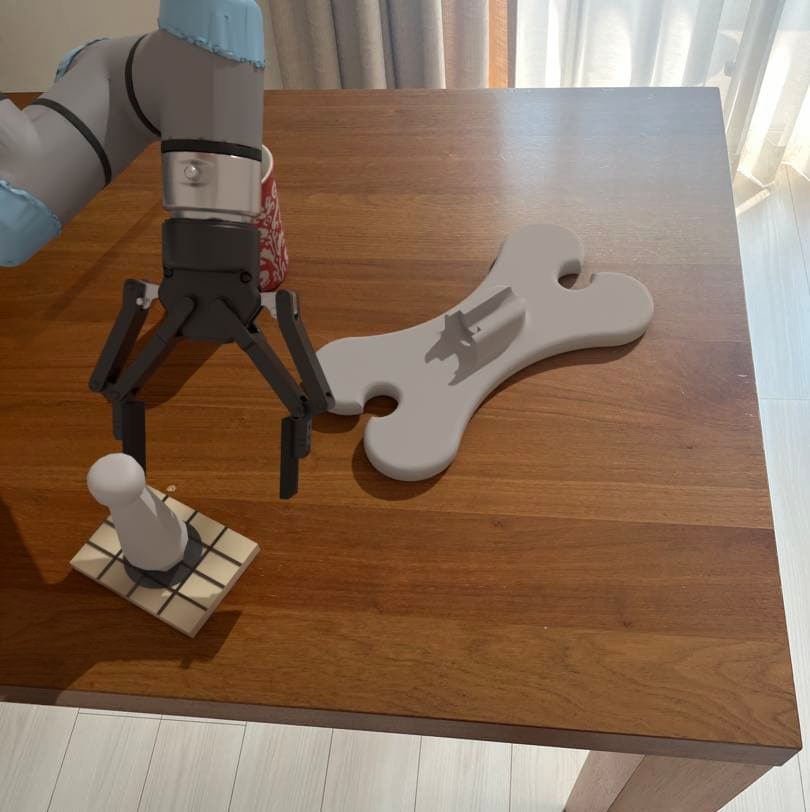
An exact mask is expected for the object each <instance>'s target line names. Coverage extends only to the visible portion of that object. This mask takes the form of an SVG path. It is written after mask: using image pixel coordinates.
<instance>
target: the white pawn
mask: <svg viewBox="0 0 810 812" xmlns="http://www.w3.org/2000/svg"><path fill="white" fill-rule="evenodd" d="M86 484H87V489H88V491H89V493H90V494H91V495H92V497H93V498H94V499H95V500H96V501H97V503H98V504H101V505H103V506H106V507H108V509H109V513H110V515H111V516H112V519H113V523H114V526H115V529H116V532H117V536H118V539H119V542H120V545H121V549H122V552H123V554H124V555H125V557H126V558H127V559H128V561H129V562H130V563H131V564H132V565H133V566H136V567H139V568H142V569H144V570H158V571H165V572H166V571H168V570H169V569H170V568H172V567H173V566H175V565H176V564H177V563H179V562H180V561H181V560H183V556H184V550H185V547H186V544H187V542H188V534H187V528H186V524H185V523H184V522H183V521H182V520H181V518H180V517H179V516H178V515H177V514H176V513H175V512H174V511H173V510H171V509H170V508H169V507H168V506H167V505H166V504H165V503H164V502H163V501H161V500H160V499H159V498H158V497H157V496H156V495H155V494H154V493H153V492H152V491H151V490H150V489H149V488H148V487H147V486H146V485H147V484H146V477H145V474H144V471H143V469H142V467H141V466H140V465H139V464H138V463H137V462H136V460H135V459H134V458H132V457H131V456H129V455H126V454H123V452H117V453H109V454H107V455H104V456H102V457H101V458H99V459H97V460H96V461H95V462H94V464H92V465H91V466H90V468H89V470H88V472H87V475H86ZM145 484H146V485H145Z"/></svg>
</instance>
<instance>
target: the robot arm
mask: <svg viewBox="0 0 810 812" xmlns="http://www.w3.org/2000/svg"><path fill="white" fill-rule="evenodd" d="M156 21H157V26H158V29H155V30H152V31H150V32H147V33H139V34H133V35H126V36H121V37H112V38H110V37H102V39H98V38H95V39H93V40H90V41H88V42H86V43H85V44H83V45H79V46H77V47H75V48H73V49H71V50H69V51H68V52H67V53H66V54H64V56H63V57H62V58H61V60H60V62H59V64H58V67H57V68H56V72H55V73H56V74H55V76H54V80H53V84H52V85H51V86H49V88H48V89H46V90H45V91H44V92H43V93H42V94H40V95H39V96H38V97H37V98H36V99H34V100H32V102H30V103H29V104H28V105H27V106H26V107H24V108H23V109H20V108H19V107H18V106H17V105H15V104H14V102H13V101H12V100H11V99H10V98H8V97H7V96H6V95H5V94H4V93H3V92H2V91H0V267H6V268H12V267H13V268H14V267H17V266H20V265H23V264H26V262H28V261H29V260H30V259H31V258H32V257H33V256H34V255H36V254H37V253H38V252H39V251H40V250H41V249H42V248H44V247H46V245H48V243H49V242H51V241H52V240H54V239H55V240H56V239H58V237H60V235H61V234H62V233H63V230H64V228H66V227H67V225H68V224H69V223H70V222H71V221H73V219H74V218H76V216H77V215H78V214H80V213H81V211H82V210H84V209H85V207H86V206H87V205H88V204H89V203H90V202H92V200H93V199H94V198H96V196H97V195H98V194H99V193H100V192H102V191H103V190H104V189H105V188H106V187H108V186H109V185H110V184H111V183H112V182H114V180H115V179H117V177H119V176H120V174H122V173H123V172H124V171H125V170H126V169H127V168H128V167H129V166H130V165H131V164H132V163H133V162H135V160H136V159H137V158H138V157H139V156H140V155H141V154H143V152H144V151H145V150H146V149H147V148H148V147H150V146H151V145H153V144H154V143H156V142H160V154H161V208H162V209H163V210H164V211H165V212H169V218H165V219H164V222H161V265H162V271H163V276H162V280H161V282H160V284H159V283H153V282H150V281H149V279H146V278H127V279H125V281H124V282H123V289H122V302H121V308H120V310H119V312H118V314H117V316H116V319H115V321H114V323H113V325H112V328H111V330H110V333H109V335H108V337H107V339H106V341H105V344H104V346H103V348H102V351H101V353H100V355H99V357H98V359H97V362H96V364H95V366H94V368H93V371H92V373H91V375H90V377H89V380H88V383H87V386H88V389H89V390H90V391H91V392H92V393H99V394H100V395H103V396H105V397H107V398H108V399H109V400H110V403H111V421H112V435H113V438H114V440H115V441H121V444H122V445H121V449H122V452H121V453H123V454H126V455H129V456H131V457H132V458H134V459H135V460H136V462H137V463H138V464H139V465H140V466H141V467H142V469H143V471H144V474H145V478H146V477H147V442H146V441H147V439H146V438H147V437H146V435H147V434H146V400H139V399H138V400H134V399H136V398H138V397H139V395H138V394H139V393H140V392H141V390H142V389H143V388H144V387H145V386H146V384H148V382H149V381H150V380H151V378H152V377H153V376H154V375H155V373H156V372H157V371H158V370H159V369H160V368H161V366H162V365H163V364H164V363H165V362H166V360H167V359H168V358H169V356H170V355H171V354H172V353H173V352H174V351H175V349H176V348H177V347H178V346H179V345H180V344H181V343H182V342H184V341H185V340H186V339H187V341H188V342H193V343H194V342H195V343H200V342H206V341H208V342H211V343H214V344H219V345H230V344H234V343H236V345H237V346H238V348H239V349H240V350H242V351H243V352H245V354H246V355H247V357H248V358H249V359H250V360H251V362H252V363H253V364H254V366H255V367H256V369H257V370H258V371H259V373H260V374H261V376H262V377H263V378H264V379H265V381H266V382H267V383H268V385H269V386H270V388H271V390H273V392H274V393H275V395H276V396H277V397H278V399H279V400H280V402H281V403H282V404H283V406H284V407H285V409H286V410H287V411H288V413H289V414H290V415H287V416H286V417H284V418H281V420H280V421H281V423H280V424H281V425H280V427H281V428H280V457H279V458H280V461H279V462H280V463H279V465H280V466H279V496H278V497H279V500H287V501H288V500H290V499H292V498H293V497H294V496H295V495H297V494H299V471H300V459H305V458H307V457H308V456H309V455H310V453H311V450H312V427H313V425H312V424H313V418H314V417H315V416H316V415H320V414H324V413H326V412H329V411H328V410H330V409H332V408H334V406H335V403H336V402H335V398H334V396H333V394H332V391H331V389H330V386H329V384H328V382H327V379H326V377H325V375H324V372H323V370H322V367H321V365H320V363H319V360H318V358H317V356H316V351H315V348H314V346H313V343H312V342H311V340H310V336H309V334H308V331H307V329H306V328H305V325H304V322H303V320H302V316H301V315H302V314H301V301H300V293H298V291H297V290H295V289H283V288H282V289H279V290H278V291H265V292H263V291H262V288H261V285H260V256H261V231H259V230H258V226H254V225H253V224H254V219H257V218H258V217H260V216H261V202H262V163H261V162H262V144H263V133H264V132H263V131H264V129H263V127H264V95H265V94H264V93H265V91H264V90H265V69H266V68H267V61H266V55H265V35H264V34H265V33H264V18H263V13H262V10H261V7H260V6H259V4H258V3H257V2H256V1H255V0H159V8H158V17H157V18H156ZM157 301H159V302H160V304H161V306H162V307H163V309H164V310H165V312H166V314H167V316H166V318H164V320H163V321H162V322H161V324H160V325H159V326H158V327H157V329H156V330H155V332H154V336H153V337H152V338H151V339H150V340H149V341H148V343H147V345H145V346H144V347H143V349H142V350H141V351H140V353H139V354H138V355H136V357H135V359H134V360H133V361H132V362H131V363H130V365H129V366H128V367H127V369H125V371H124V368H125V366H126V365H127V362H128V360H129V357H130V356H131V353H132V351H133V349H134V346H135V345H136V342H137V339H138V338H139V335H140V334H141V331H142V330H143V326H144V324H145V322H146V320H147V317H148V315H149V311H150V310H151V309H153V308H154V307H155V306H156V302H157ZM264 308H267V310H268V312H269V315H270V316H271V318H272V319H274V320H277V324H278V327H279V330H280V333H281V335H282V338H283V340H284V342H285V345H286V347H287V349H288V351H289V354H290V357H291V359H292V361H293V363H294V365H295V368H296V370H297V373H298V375H299V378H300V379H301V382H302V384H303V387H304V390H305V391H306V393H305V392H304V390H303V389H302V388H301V386H300V385H299V383H298V382H297V381H296V379H295V378H294V377H293V375H292V374H291V373H290V371H289V369H288V368H287V367H286V366H285V364H284V363H283V361H282V360H281V359H280V357H279V356H278V354H277V353H276V351H274V349H273V348H272V347H271V345H270V344H269V342H268V340H267V336H266V335H265V334H264V332H263V331H262V329H261V328H260V327H259V325H258V324H257V323H256V319H257V318H258V316H259V315H260V314H261V312H262V311H263V310H264ZM123 371H124V372H123ZM122 372H123V373H122Z"/></svg>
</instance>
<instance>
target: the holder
mask: <svg viewBox="0 0 810 812" xmlns="http://www.w3.org/2000/svg"><path fill="white" fill-rule="evenodd" d="M586 254H587V253H586V247H585V245H584V242H583V240H582V238H581V237H580V236H579V235H578V234H577V233H576V232H575V231H574V230H572V229H571V228H570V227H567V226H566V225H563V224H560V223H557V222H553V221H534V222H530V223H525V224H523V225H521V226H519V227H516V228H514V229H513V230H512V231H511V232H510V233H508V234H507V235H506V237H504V239H503V241H502V242H501V245H500V246H499V251H498V254H497V256H496V259H495V261H494V264H493V265H492V267H491V269H490V271H489V272H488V273H487V275H486V277H485V278H484V279H483V281H482V282H481V283H480V284H479V285H478V287H476V289H474V291H472V292H471V293H470V294H468V296H467V297H466V298H465V299H463V300H462V301H461V302H459V303H457V305H455V306H454V307H451V309H449V310H447V311H445V312H443V313H442V314H440V315H438V316H436V317H434V318H432V319H430V320H428V321H425V322H422V323H420V324H417V325H415V326H412V327H408V328H405V329H402V330H397V331H393V332H388V333H383V334H378V335H377V334H376V335H367V336H350V337H342V338H338V339H335V340H333V341H330V342H328V343H327V344H325V345H323V346H322V347H321V348H319V349H318V350H317V351H315V353H316V356H317V358H318V360H319V363H320V365H321V367H322V370H323V372H324V375H325V377H326V379H327V382H328V384H329V386H330V389H331V391H332V394H333V396H334V398H335V402H336V403H335V406H334V408H332V409H330V410H328V411H327V412H329V413H332V414H336V415H339V416H354V415H355V416H356V415H361V414H364V408H365V405H366V403H367V402H368V401H369V400H371V399H372V398H375V397H378V396H386V397H387V396H388V397H390V398H392V399H394V400H395V401H396V402H397V407H396V409H395V410H394V411H393V412H392V413H390V414H387V415H386V416H381V417H380V416H379V417H377V416H370V418H369V420H368V421H367V423H366V426H365V428H364V432H363V446H364V447H363V448H364V451H365V454H366V457H367V458H368V460H369V462H370V463H371V465H372V466H373V467H374V468H375V469H376V470H377V471H378V472H380V473H381V474H383V475H384V476H386V477H388V478H390V479H394V480H397V481H401V482H402V481H403V482H418V481H424V480H427V479H430V478H432V477H435V476H436V475H438V474H440V473H442V472H443V471H445V469H447V468H448V467H449V466H450V465H451V464H452V462H453V461H454V460H455V458H456V456H457V454H458V450H459V447H460V444H461V441H462V439H463V435H464V433H465V430H466V428H467V426H468V425H469V421H470V420H471V419H472V416H473V415H474V414H475V412H476V410H477V409H478V408H479V406H480V405H481V404H482V402H484V400H485V399H486V398H487V397H488V396H489V395H490V394H491V393H492V392H493V391H494V390H495V389H496V388H498V386H499V385H501V384H502V383H504V381H506V380H507V379H508V378H510V377H512V376H513V375H515V374H517V372H519V371H521V370H523V369H525V368H526V367H529V366H531V365H532V364H535V363H537V362H539V361H542V360H545V359H547V358H550V357H553V356H556V355H559V354H564V353H567V352H573V351H578V350H582V349H583V350H584V349H591V348H599V347H600V348H603V347H604V348H605V347H618V346H623V345H626V344H629V343H631V342H634V341H635V340H638V339H639V338H640V337H642V335H644V334H645V333H646V331H647V330H648V329H649V327H650V325H651V324H652V322H653V318H654V313H655V303H654V299H653V296H652V294H651V292H650V291H649V290H648V288H647V287H646V286H645V285H643V283H642V282H641V281H639V280H638V279H636V278H634V277H632V276H630V275H627V274H624V273H620V272H615V271H614V272H613V271H601V272H595V273H592V274H591V275H590V277H589V278H590V279H589V282H590V284H589V285H588V286H586V287H584V288H580V289H570V288H566V287H565V286H562V285H561V284H560V283H559V279H560V278H562V277H563V276H566V275H572V274H573V275H580V274H581V273H582V271H583V269H584V267H585V263H586V256H587V255H586Z"/></svg>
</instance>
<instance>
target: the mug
mask: <svg viewBox="0 0 810 812" xmlns="http://www.w3.org/2000/svg"><path fill="white" fill-rule="evenodd" d="M261 163H262V202H261V216H260V217H258V218H257V219H254V224H253V225H254V226H258V230H259V231H261V256H260V285H261V288H262V291H263V293H265V292H269V291H271V290H273V289H275V288H276V287H278V286H279V285H280V284H281V283H282V282H283V281H284V280H285V279H286V277H287V275H288V274H289V273H288V272H289V270H290V261H289V255H288V248H287V244H286V238H285V233H284V227H283V222H282V215H281V210H280V202H279V196H278V190H277V185H276V180H275V179H276V178H275V175H274V163H275V162H274V157H273V154H272V152H271V150H269V148H268V147H267V146H266V145H264V144H263V143H262V162H261Z"/></svg>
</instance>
